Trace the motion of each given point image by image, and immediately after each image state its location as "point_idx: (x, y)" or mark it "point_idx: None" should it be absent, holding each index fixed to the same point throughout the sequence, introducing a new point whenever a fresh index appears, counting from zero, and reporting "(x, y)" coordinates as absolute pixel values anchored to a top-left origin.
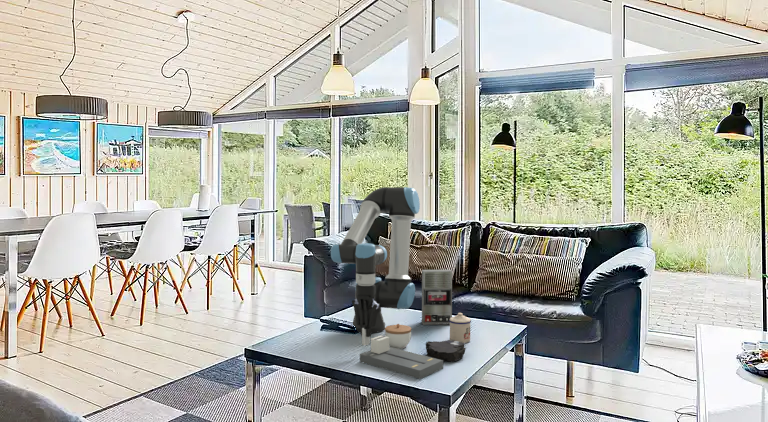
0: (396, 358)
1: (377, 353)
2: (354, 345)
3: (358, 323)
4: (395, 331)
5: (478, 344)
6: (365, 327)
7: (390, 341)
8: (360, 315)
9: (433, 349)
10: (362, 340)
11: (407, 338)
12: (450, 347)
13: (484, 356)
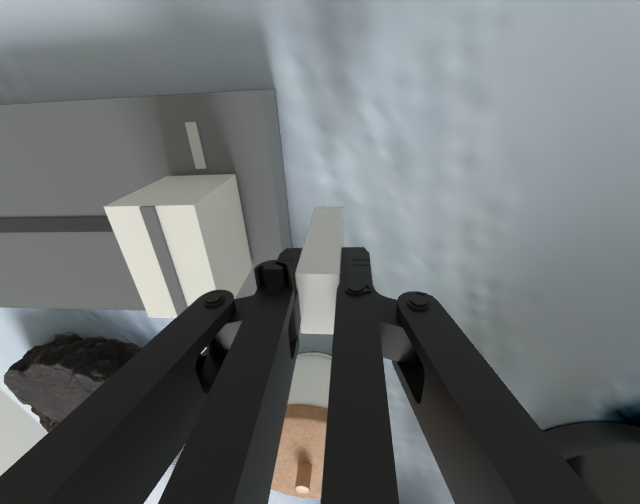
0: (53, 191)
1: (179, 176)
2: (507, 289)
3: (405, 306)
4: None
5: (160, 483)
6: (276, 280)
7: (306, 366)
8: (379, 416)
9: (74, 372)
10: (337, 219)
11: None
12: (66, 415)
13: None
